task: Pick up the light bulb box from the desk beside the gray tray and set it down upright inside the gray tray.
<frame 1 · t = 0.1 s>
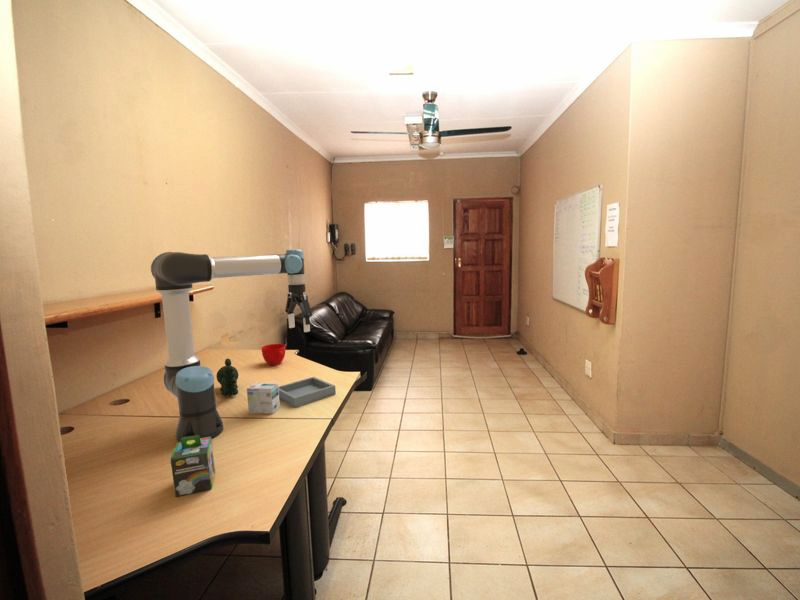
hand: (299, 329, 179), 28 cm above the table, fingers open, 13 cm apart
chalk box: (196, 485, 109), on the table
light bulb box: (264, 410, 158), on the table
ceramic cup: (276, 364, 221), on the table
gray tray: (305, 395, 174), on the table
toy figurine: (229, 392, 180), on the table
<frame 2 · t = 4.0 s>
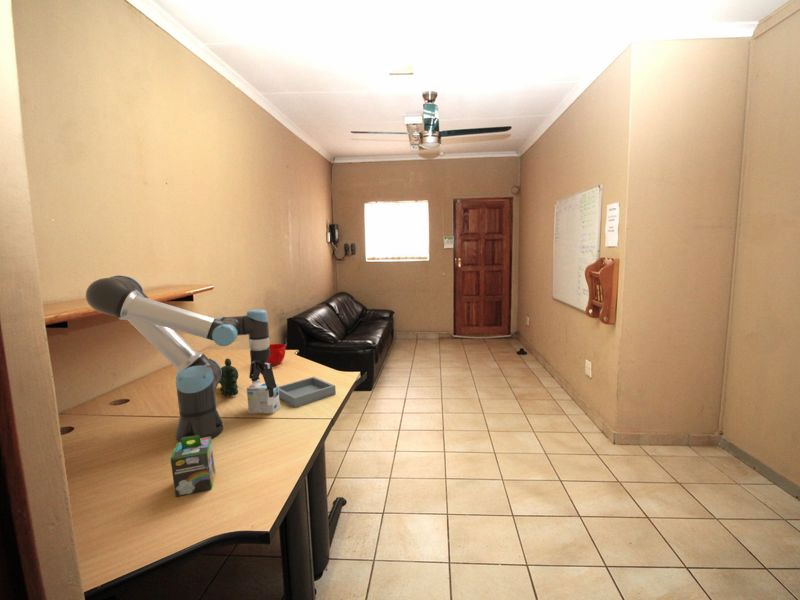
hand: (263, 400, 158), 4 cm above the table, fingers closed on light bulb box, 12 cm apart
light bulb box: (264, 410, 158), on the table, touching gripper
everything else where it was.
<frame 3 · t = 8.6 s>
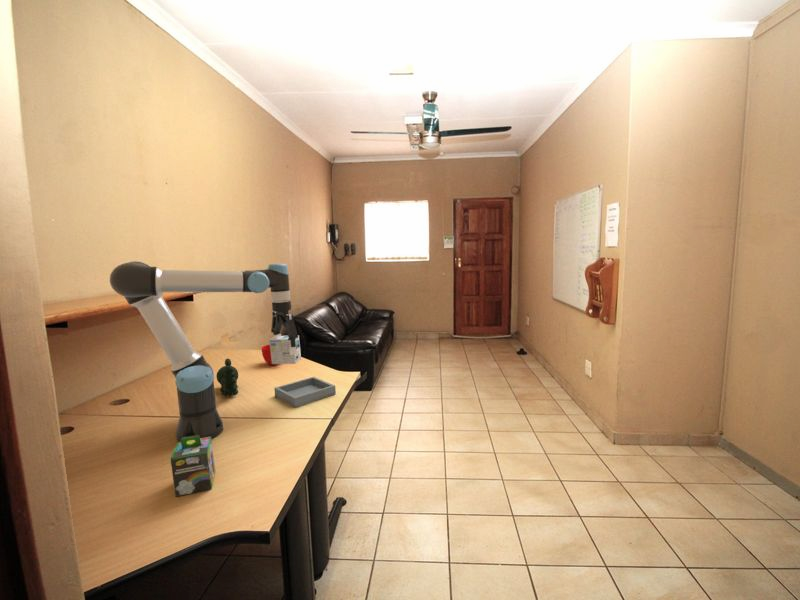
hand: (285, 351, 164), 22 cm above the table, fingers closed on light bulb box, 12 cm apart
light bulb box: (286, 362, 164), point 17 cm above the table, touching gripper
everything else where it was.
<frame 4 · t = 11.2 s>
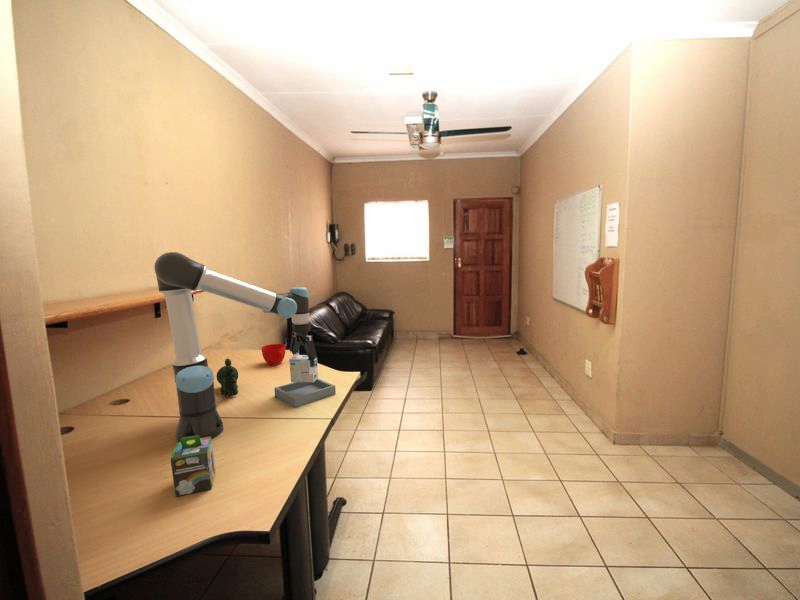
hand: (304, 370, 172), 11 cm above the table, fingers closed on light bulb box, 12 cm apart
light bulb box: (304, 380, 173), point 7 cm above the table, touching gripper
everything else where it was.
when the fingers open (7 cm above the table, at t = 13.5 s): light bulb box drops 1 cm, resting on gray tray.
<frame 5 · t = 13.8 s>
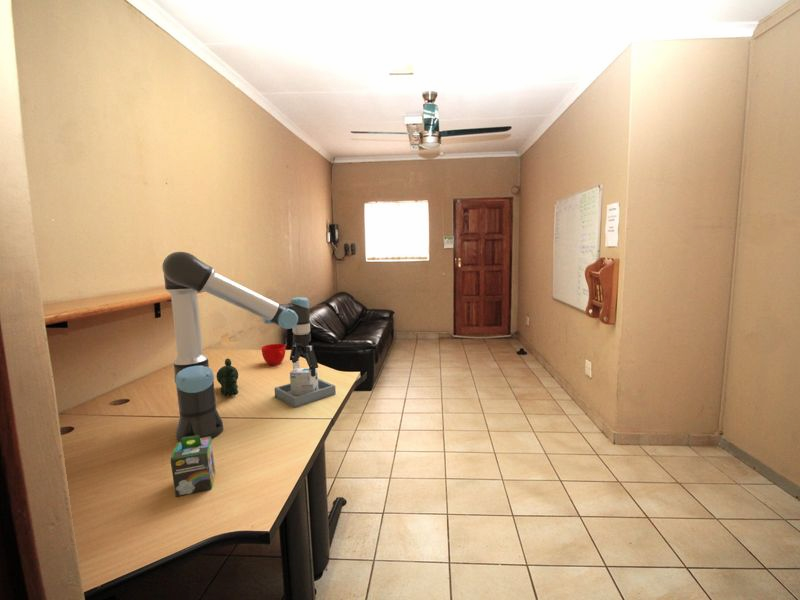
hand: (304, 379, 173), 7 cm above the table, fingers open, 13 cm apart
light bulb box: (305, 393, 173), point 1 cm above the table, touching gray tray
everything else where it was.
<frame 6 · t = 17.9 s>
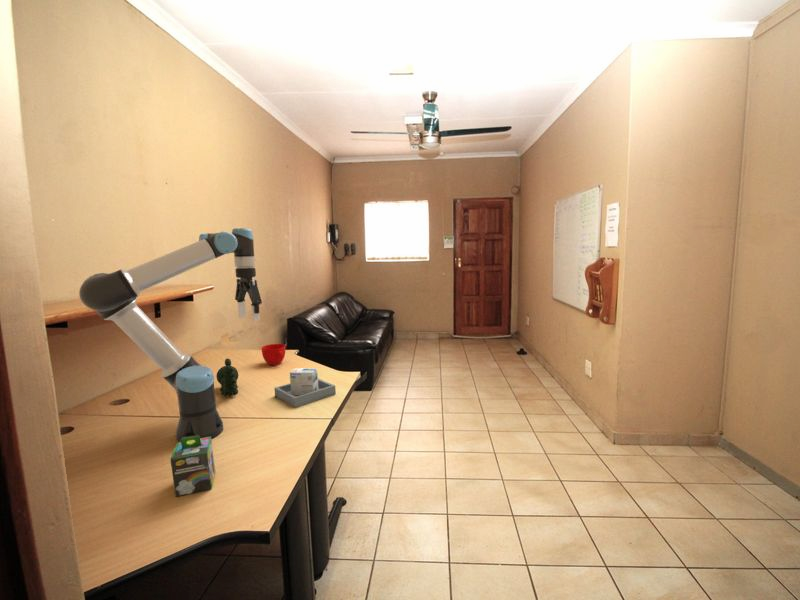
hand: (249, 319, 159), 37 cm above the table, fingers open, 13 cm apart
nothing on the table moved.
at the end: light bulb box inside the target area on the gray tray (0.1 cm from its centre), point 0.8 cm above the gray tray's base; light bulb box tilted 0°; the gripper is holding nothing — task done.
